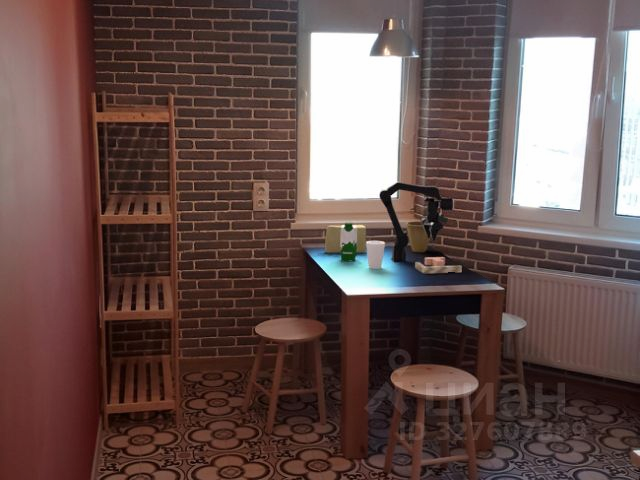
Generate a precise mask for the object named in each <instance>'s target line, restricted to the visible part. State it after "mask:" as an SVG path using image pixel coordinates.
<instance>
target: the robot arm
mask: <svg viewBox="0 0 640 480" xmlns="http://www.w3.org/2000/svg"><path fill="white" fill-rule="evenodd" d="M398 191H407V192H410V193H411V192H412V193H416V194H421V195H424V196H426V197H425V198H424V200H423V202H426V203H427V205H426V206H427V207H426V211H425V215H426V217H422V218H420V221H421V223H422V225H423V227H424V230H425V232H426V235H427V237H428V238H430V239H431V240H432V242H434V241H436V238H437V235H438V233H439V232H440V231H441V230H443V229H444V224H445V225H448V224H447V223H448V221H449V218H448V217H445V215H444V214H443V213H440V212H439V209H441V211H451V212H453V209H454V204H453V197H442V195H441V194H440V190H439V188H438V186H436V185H419V184H412V183H407V182H403V181H402V182H401V181H396V182H394V183H393V184H392V185H390V186H389V187H387V188H382V189H381V190H380V191H379V195H378V196H379V199H380V201H381V203H382V204H383V205H384V207H385V208H386V211H387V213H388V216H389V218H390V221H391V224H392V226H393V229H394V232H395V237H396V241H395V242H394V243H393V248H391V249H392V252H391V254H392V255H391V258H390V260H392V261H393V262H407V260H406V259H407V252H406V249H405V248H406V247H407V246H408V245H409V237H408V231H407V230H403V228H402V225H401V223H400V221H399V218H398V216H397V215H398V214H397V213H396V210H395V208H394V205H393V200H392V196H393V195H395V193H397V192H398ZM430 235H431V237H430Z"/></svg>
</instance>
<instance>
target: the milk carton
mask: <svg viewBox="0 0 640 480" xmlns="http://www.w3.org/2000/svg"><path fill="white" fill-rule="evenodd" d="M353 225H354V224H353V222H345V223H344V224H342V225H341V226H342V227H341V235H340V259H341V260H340V261H343V262H345V261H346V262H355V261H356V257H357V253H356V251H357V228H356V226H353Z"/></svg>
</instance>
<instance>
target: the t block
mask: <svg viewBox="0 0 640 480" xmlns="http://www.w3.org/2000/svg"><path fill="white" fill-rule="evenodd" d="M424 266H446V257H444V256H435V257H424Z"/></svg>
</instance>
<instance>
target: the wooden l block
mask: <svg viewBox="0 0 640 480" xmlns="http://www.w3.org/2000/svg"><path fill="white" fill-rule="evenodd" d="M414 269H416V270H418V272H420V273H422V274H423V275H424V274H447V273H448V272H455V273H462V271H463V270H462V269H463V267H462V265H444V266H433V265H429V266H427V265H425V264H422V263H421V262H420V261H416V262H415V263H414ZM448 274H449V273H448Z"/></svg>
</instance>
